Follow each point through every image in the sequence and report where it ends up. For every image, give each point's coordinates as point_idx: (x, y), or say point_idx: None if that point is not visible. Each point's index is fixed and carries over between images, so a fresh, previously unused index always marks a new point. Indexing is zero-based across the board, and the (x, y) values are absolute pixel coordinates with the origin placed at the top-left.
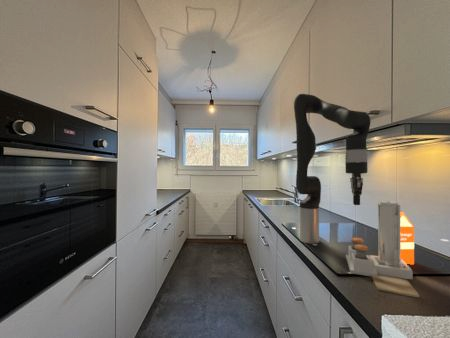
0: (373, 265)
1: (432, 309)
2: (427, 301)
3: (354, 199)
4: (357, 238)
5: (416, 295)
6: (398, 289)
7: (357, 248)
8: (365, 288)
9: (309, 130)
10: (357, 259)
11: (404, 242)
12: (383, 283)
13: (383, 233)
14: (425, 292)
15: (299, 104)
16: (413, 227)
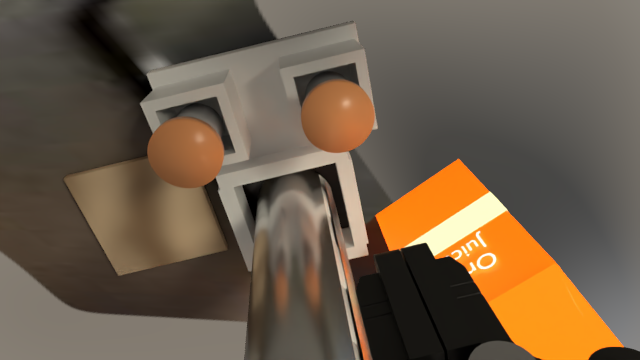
0: (259, 158)
1: (70, 292)
2: (113, 285)
3: (390, 313)
4: (353, 119)
5: (116, 269)
6: (114, 230)
7: (150, 138)
8: (45, 137)
9: None
10: (148, 120)
11: None
12: (126, 191)
13: (254, 299)
14: (175, 284)
15: None
16: None
